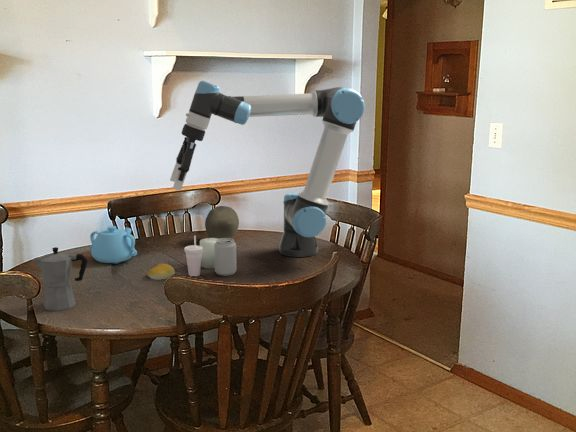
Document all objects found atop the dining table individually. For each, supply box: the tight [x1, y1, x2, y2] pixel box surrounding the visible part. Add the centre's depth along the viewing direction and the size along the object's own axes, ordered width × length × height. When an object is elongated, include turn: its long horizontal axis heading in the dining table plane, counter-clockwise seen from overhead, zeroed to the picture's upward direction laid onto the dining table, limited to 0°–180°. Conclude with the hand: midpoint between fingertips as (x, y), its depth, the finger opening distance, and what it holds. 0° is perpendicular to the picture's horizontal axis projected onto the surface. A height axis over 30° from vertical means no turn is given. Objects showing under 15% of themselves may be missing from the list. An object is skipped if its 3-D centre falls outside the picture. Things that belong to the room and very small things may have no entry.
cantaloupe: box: [204, 205, 240, 239], centre depth 254 cm, size 14×14×15 cm
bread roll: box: [147, 263, 175, 281], centre depth 214 cm, size 8×9×4 cm
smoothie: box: [183, 235, 203, 277], centre depth 214 cm, size 6×6×14 cm
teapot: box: [89, 225, 138, 265], centre depth 233 cm, size 20×20×13 cm
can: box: [214, 238, 237, 277], centre depth 217 cm, size 8×8×12 cm
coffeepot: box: [32, 247, 89, 312], centre depth 186 cm, size 15×9×18 cm, turn 101°
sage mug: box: [199, 237, 218, 269], centre depth 226 cm, size 10×8×9 cm
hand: (175, 185), depth 215 cm, fingers open, 13 cm apart
